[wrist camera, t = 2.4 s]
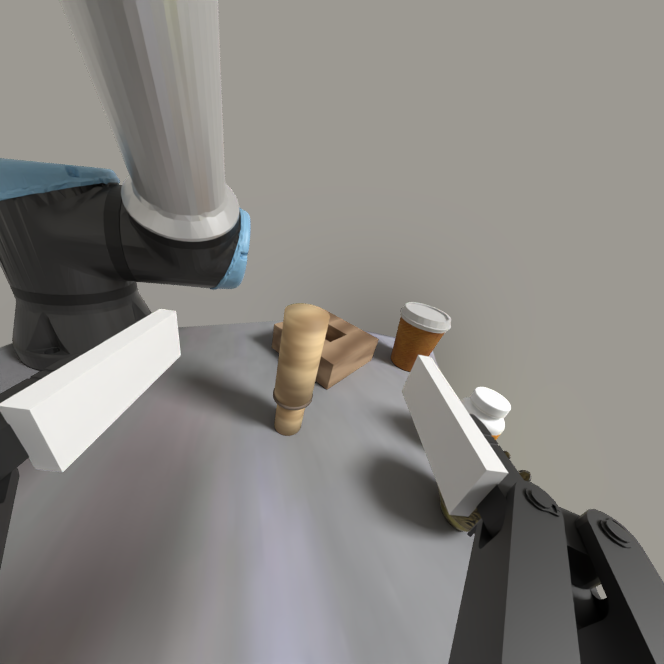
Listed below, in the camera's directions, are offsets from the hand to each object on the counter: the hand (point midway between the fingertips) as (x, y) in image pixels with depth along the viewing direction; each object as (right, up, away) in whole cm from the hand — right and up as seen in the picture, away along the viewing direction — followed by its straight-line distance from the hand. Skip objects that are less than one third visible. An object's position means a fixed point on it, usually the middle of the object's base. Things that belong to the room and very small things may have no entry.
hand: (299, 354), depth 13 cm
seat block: (0, -3, +33) cm, 33 cm away
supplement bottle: (+19, -15, +20) cm, 31 cm away
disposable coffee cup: (+17, -5, +37) cm, 41 cm away
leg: (-4, -11, +17) cm, 21 cm away
